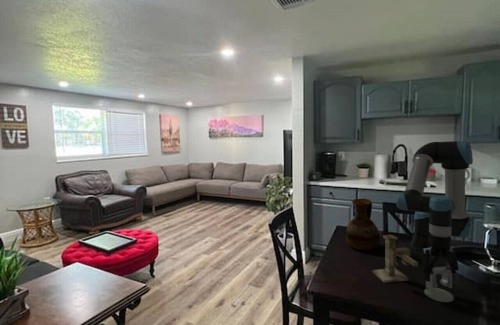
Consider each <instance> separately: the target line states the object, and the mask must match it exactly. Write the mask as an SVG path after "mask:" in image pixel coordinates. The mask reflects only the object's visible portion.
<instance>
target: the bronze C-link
mask: <svg viewBox="0 0 500 325" xmlns="http://www.w3.org/2000/svg"><path fill="white" fill-rule="evenodd" d="M396 254H405V255H407V256H408V257H410V258H411V249H409V248H408V247H395V248H392V249H389V264H391V265H392V266H393V267H394V266H395V267H398V266H399V263H398V262H397V255H396ZM400 262H401V264H403V265H404V266H411V264H410V263H408V262H407V261H405V260H403V259H400Z"/></svg>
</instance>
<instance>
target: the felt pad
mask: <svg viewBox="0 0 500 325" xmlns="http://www.w3.org/2000/svg"><path fill="white" fill-rule="evenodd" d="M424 294H425V296H427V297H428V298H430V299H431V300H434V301H437V302H442V303H450V302H453V301H454V295H453V294H452V293H451V292H449V291H448V290H445V289H442V288H440V287H439V288H438V287H436V288H432V290H430V289H429V288H427V287H425V289H424Z"/></svg>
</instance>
